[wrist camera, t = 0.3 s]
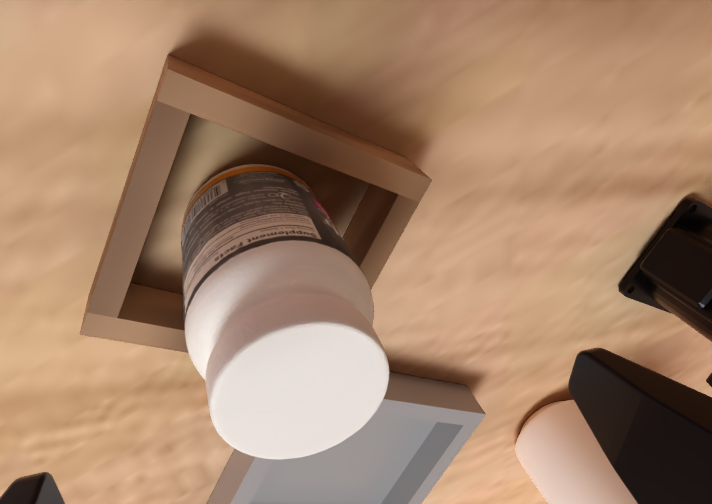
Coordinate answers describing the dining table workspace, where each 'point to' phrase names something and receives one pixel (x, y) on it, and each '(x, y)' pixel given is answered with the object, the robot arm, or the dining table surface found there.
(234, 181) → the pill bottle
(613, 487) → the beverage can
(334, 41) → the dining table surface
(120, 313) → the socket collar
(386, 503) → the tray
